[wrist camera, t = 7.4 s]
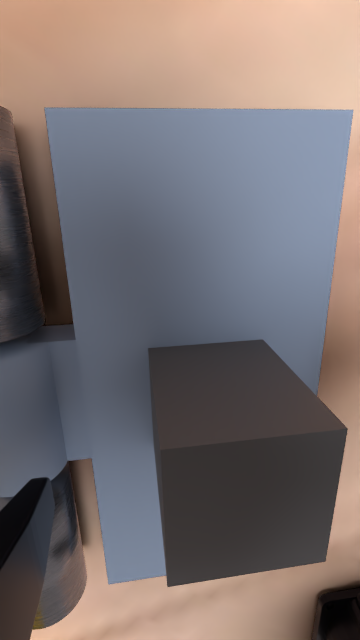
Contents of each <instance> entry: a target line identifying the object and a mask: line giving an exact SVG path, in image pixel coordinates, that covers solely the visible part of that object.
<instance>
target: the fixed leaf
mask: <svg viewBox="0 0 360 640" xmlns="http://www.w3.org/2000/svg"><path fill="white" fill-rule="evenodd" d="M44 323H45V314H44V308H43V302H42V296H41V290H40V284H39V278H38V272H37V265H36V259H35V253H34V247H33V241H32V235H31V229H30V223H29V217H28V210H27V204H26V198H25V192H24V186H23V180H22V174H21V168H20V162H19V155H18V149H17V143H16V137H15V131H14V125H13V119H12V114H11V112H10V111H9V110H7V109H5V108H3V107H1V106H0V343H1V342H5V341H9V340H13V339H16V338H19V337H22V336H25V335H27V334H29V333H31V332H33V331H35V330H37V329H39V328H40V327H41V326H42V325H43V324H44ZM51 486H52V491H53V497H54V502H55V513H54V520H53V526H52V533H51V540H50V546H49V553H48V560H47V566H46V573H45V579H44V584H43V589H42V593H41V597H40V601H39V605H38V609H37V613H36V617H35V621H34V625H33V630H35V629H42V628H46V627H49V626H51V625H53V624H55V623H57V622H59V621H60V620H62V619H63V618H64V617H65V616H67V615H68V614H69V613H70V612H71V611H72V610H73V608H74V607H75V606H76V605H77V603H78V602H79V600H80V598H81V596H82V594H83V592H84V589H85V586H86V581H87V571H86V565H85V559H84V553H83V547H82V541H81V534H80V528H79V522H78V516H77V510H76V504H75V498H74V492H73V486H72V479H71V473H70V467H69V462H68V461H67V463H66V465H65V467H64V468H63V469H62V471H61V472H60V473H59V474H58V475H57V476H56V477H55V478H54V479H52V480H51ZM13 497H14V496H13ZM13 497H0V510H1V509H2V508H3V507H4V506H5V505H6V504H7V503H8V502H9V501H10V500H11V499H12V498H13Z"/></svg>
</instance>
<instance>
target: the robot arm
mask: <svg viewBox="0 0 360 640" xmlns="http://www.w3.org/2000/svg"><path fill="white" fill-rule="evenodd" d="M54 513H55V502H54V497H53V491H52V486H51V481H50V479H49V478H48V477H40V478H33V479H31V480H29V481H28V482H27V483H26V484H25V485H24V486H23V487H22V489H21V490H20V491H19V492H18V493H17V494H16V495H15V496H14V497H13V498H12V499H11V500H10V501H9V502H8V503H7V504H6V505H5V506H4V507H3V508H2V509H1V510H0V640H30V637H31V633H32V629H33V625H34V621H35V617H36V613H37V609H38V605H39V601H40V597H41V593H42V589H43V584H44V579H45V573H46V566H47V560H48V553H49V546H50V540H51V533H52V526H53V520H54ZM312 640H360V588H357V589H350V590H344V591H337V592H331V593H326V594H323V595H322V596H320V598H319V599H318V604H317V610H316V616H315V623H314V629H313V635H312Z"/></svg>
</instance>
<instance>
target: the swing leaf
mask: <svg viewBox="0 0 360 640" xmlns="http://www.w3.org/2000/svg"><path fill="white" fill-rule="evenodd" d="M45 115H46V123H47V130H48V138H49V145H50V153H51V160H52V167H53V175H54V182H55V190H56V197H57V205H58V212H59V219H60V227H61V234H62V242H63V249H64V257H65V264H66V272H67V279H68V286H69V294H70V301H71V309H72V316H73V324H68V325H53V326H41V327H40V328H39V329H37V330H35V331H33V332H31V333H29V334H27V335H25V336H22V337H19V338H16V339H13V340H9V341H5V342H1V343H0V497H13V496H15V495H16V494H17V493H18V492H19V491H20V490H21V489H22V487H23V486H24V485H25V484H26V483H27V482H28V481H29V480H31V479H33V478H40V477H48V478H49V479H50V481H51V480H52V479H54V478H55V477H56V476H57V475H58V474H59V473H60V472H61V471H62V469H63V468H64V467H65V465H66V463H67V461H72V460H81V459H89V458H92V465H93V472H94V480H95V487H96V495H97V502H98V510H99V517H100V524H101V532H102V539H103V547H104V554H105V562H106V569H107V577H108V584H114V583H121V582H127V581H133V580H140V579H146V578H152V577H159V576H165V575H166V576H167V586H168V587H171V586H177V585H183V584H189V583H195V582H202V581H208V580H214V579H220V578H226V577H232V576H239V575H245V574H251V573H257V572H263V571H270V570H276V569H282V568H288V567H294V566H300V565H307V564H313V563H319V562H325V561H326V555H327V549H328V543H329V537H330V531H331V525H332V519H333V513H334V507H335V501H336V495H337V489H338V483H339V477H340V471H341V465H342V459H343V453H344V447H345V441H346V435H347V428H346V426H345V425H344V424H343V423H342V422H341V421H340V420H339V419H338V418H337V417H336V416H335V415H334V414H333V413H332V412H331V411H330V410H329V409H328V407H327V406H326V405H325V404H324V403H323V402H322V401H321V400H320V399H319V398H318V397H317V392H318V384H319V377H320V369H321V361H322V353H323V345H324V337H325V329H326V321H327V313H328V306H329V298H330V290H331V282H332V274H333V266H334V258H335V250H336V242H337V235H338V227H339V219H340V211H341V203H342V195H343V187H344V179H345V172H346V164H347V156H348V148H349V140H350V132H351V124H352V116H353V110H303V109H168V108H45Z"/></svg>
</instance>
